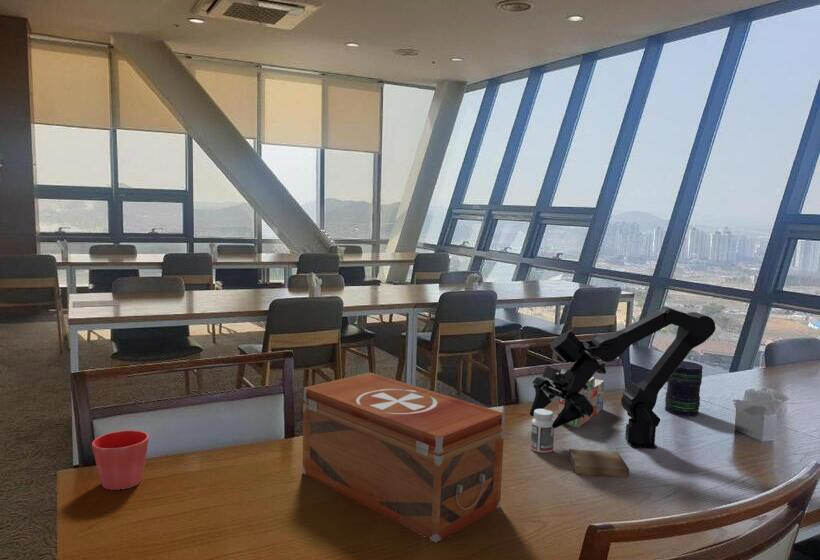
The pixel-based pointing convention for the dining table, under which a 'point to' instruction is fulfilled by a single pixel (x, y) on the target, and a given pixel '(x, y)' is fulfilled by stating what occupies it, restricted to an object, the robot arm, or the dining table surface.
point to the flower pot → (120, 458)
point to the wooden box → (404, 451)
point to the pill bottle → (542, 431)
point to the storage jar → (684, 390)
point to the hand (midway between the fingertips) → (541, 421)
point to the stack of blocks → (593, 395)
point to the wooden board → (598, 463)
